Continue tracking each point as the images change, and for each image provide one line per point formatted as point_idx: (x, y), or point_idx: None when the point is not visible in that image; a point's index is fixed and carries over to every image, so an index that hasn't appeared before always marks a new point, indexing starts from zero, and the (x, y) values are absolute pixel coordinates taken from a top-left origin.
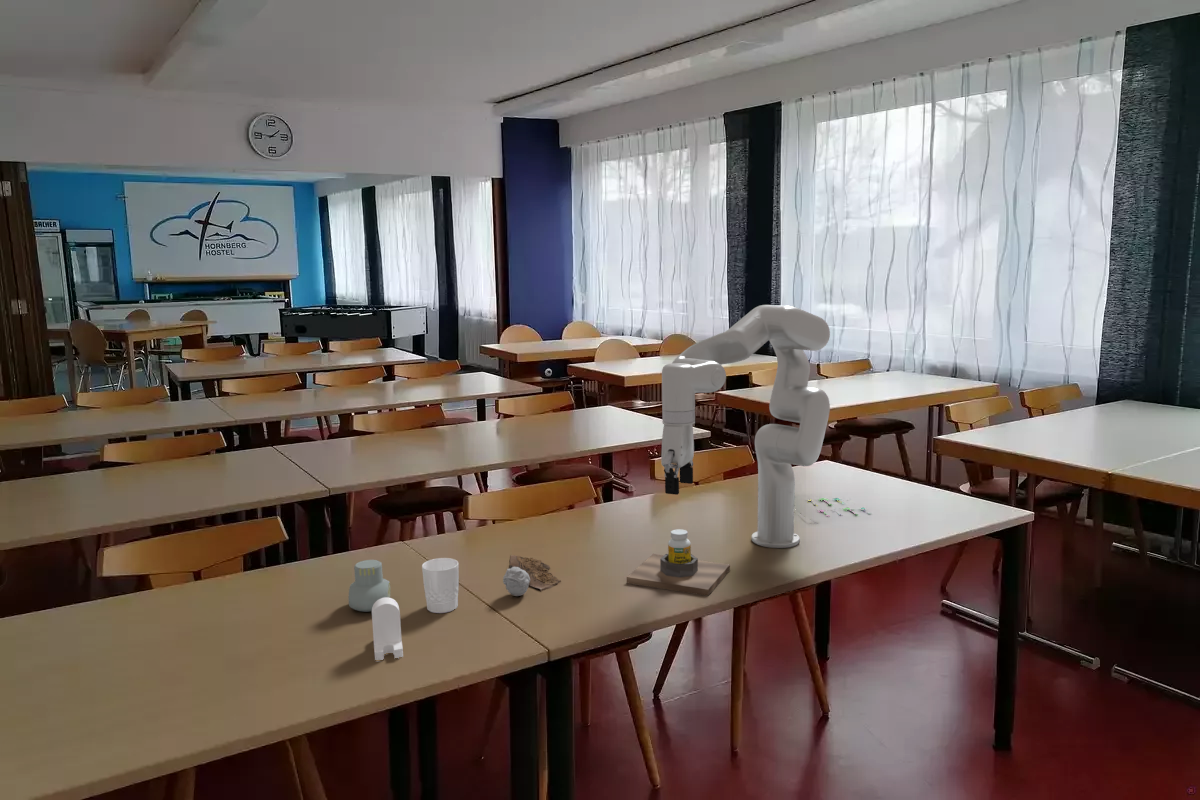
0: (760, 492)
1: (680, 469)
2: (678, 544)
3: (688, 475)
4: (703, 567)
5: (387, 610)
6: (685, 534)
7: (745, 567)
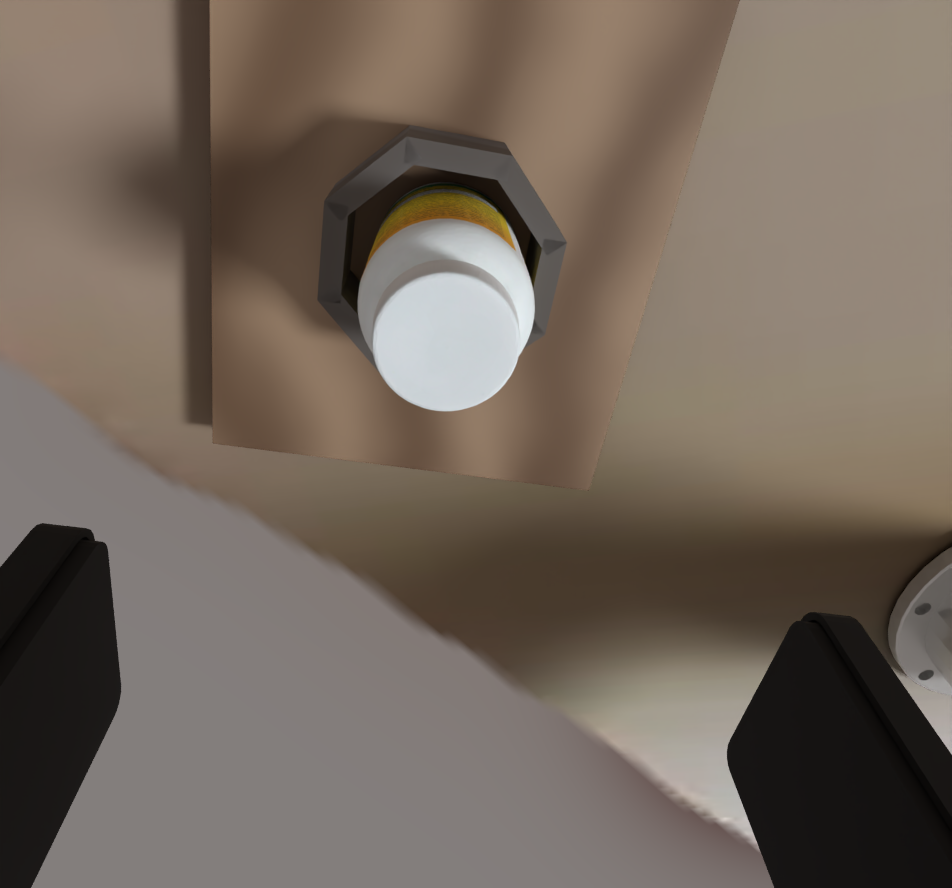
0: None
1: (930, 862)
2: (364, 325)
3: (794, 848)
4: (520, 375)
5: None
6: (411, 400)
7: (635, 528)
